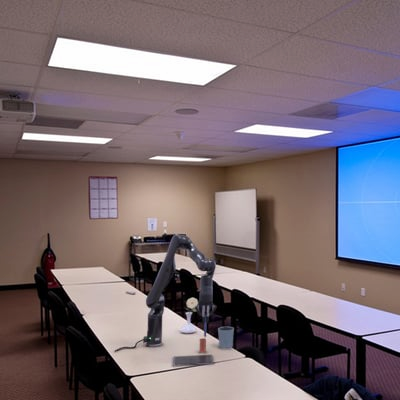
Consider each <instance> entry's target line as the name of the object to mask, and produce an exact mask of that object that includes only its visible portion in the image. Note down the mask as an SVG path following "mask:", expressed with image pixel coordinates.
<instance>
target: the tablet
mask: <svg viewBox="0 0 400 400" xmlns="http://www.w3.org/2000/svg"><path fill="white" fill-rule="evenodd" d="M172 365H173V367H186V366H203V365H205V366H206V365H214V359H213V355H212V354H199V355H198V354H197V355H179V356H178V355H177V356H173V364H172Z"/></svg>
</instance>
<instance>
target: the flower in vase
mask: <svg viewBox="0 0 400 400" xmlns="http://www.w3.org/2000/svg"><path fill="white" fill-rule="evenodd" d="M185 304H186V307H187V308H186V310H187V312H185V315H186V323H185V324H184V325H183V326H182V327H181V328H180V332H181V333H183V334H193V333H195V332H197V327H196V326H194V325H193V324H192V323H191V318H192V314H193V312H194V313H195V312H196V313H197V311H196V309H195V306H197V305H199V300H198V299H197V298H195V297H190V298H188V299H187V300H186V303H185ZM190 309H191V310H190Z"/></svg>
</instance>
